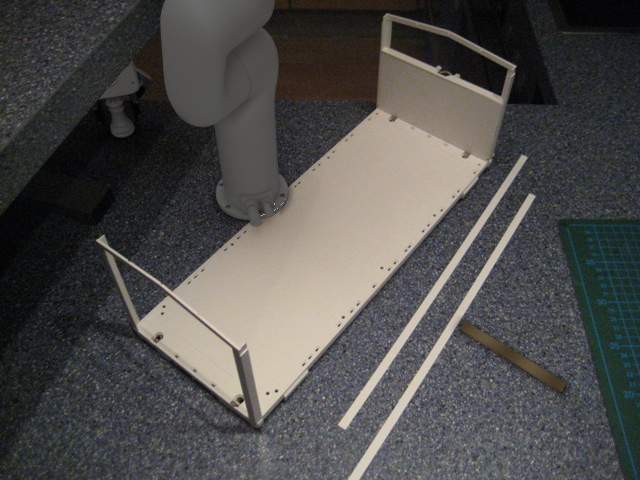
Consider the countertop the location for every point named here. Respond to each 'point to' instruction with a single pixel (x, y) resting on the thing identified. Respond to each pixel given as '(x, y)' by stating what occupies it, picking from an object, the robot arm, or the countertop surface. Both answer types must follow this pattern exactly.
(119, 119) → the rook chess piece
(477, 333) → the stick
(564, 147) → the countertop surface
